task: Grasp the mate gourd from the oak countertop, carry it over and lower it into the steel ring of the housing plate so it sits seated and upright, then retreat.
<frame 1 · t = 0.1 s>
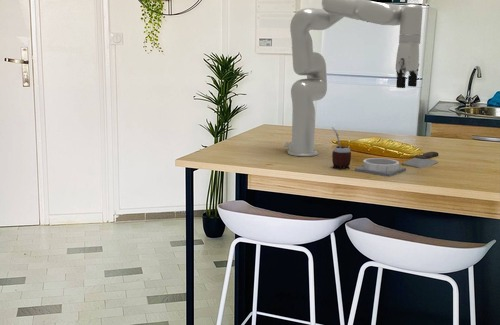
hand: (406, 87, 221), 31 cm above the table, tool pointing down, fingers open, 9 cm apart
housing: (380, 170, 225), on the table
cleaver: (424, 162, 244), on the table
mate gourd: (339, 168, 229), on the table
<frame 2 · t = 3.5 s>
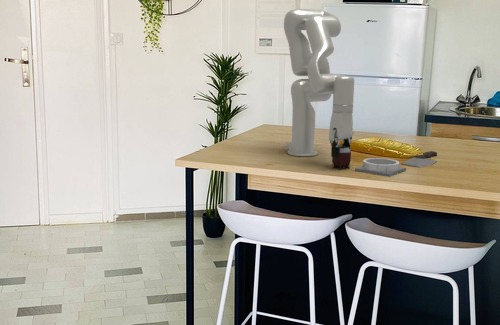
hand: (340, 155, 228), 5 cm above the table, tool pointing down, fingers closed on mate gourd, 7 cm apart
mate gourd: (339, 168, 229), on the table, touching gripper
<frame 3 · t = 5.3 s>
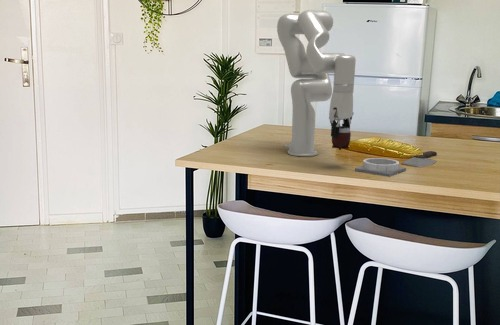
hand: (340, 135, 227), 12 cm above the table, tool pointing down, fingers closed on mate gourd, 7 cm apart
mate gourd: (339, 148, 228), point 7 cm above the table, touching gripper
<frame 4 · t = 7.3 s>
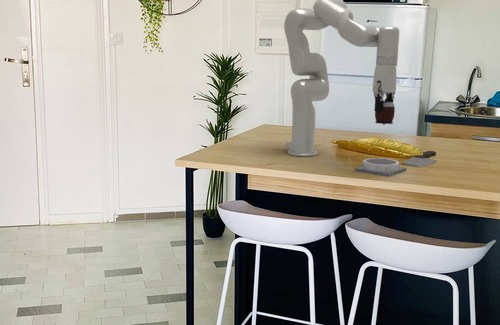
hand: (383, 110, 220), 23 cm above the table, tool pointing down, fingers closed on mate gourd, 7 cm apart
mate gourd: (382, 123, 221), point 18 cm above the table, touching gripper
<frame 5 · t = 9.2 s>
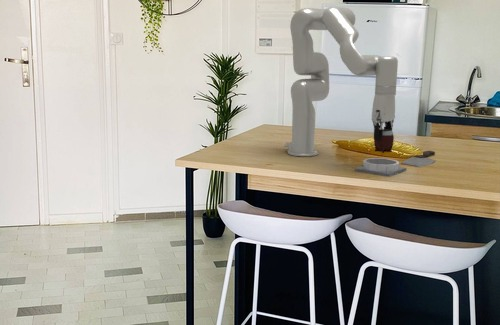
hand: (382, 138, 222), 12 cm above the table, tool pointing down, fingers closed on mate gourd, 7 cm apart
mate gourd: (381, 151, 223), point 7 cm above the table, touching gripper
when the fingers open (7 cm above the table, at t = 10.8 s): mate gourd drops 1 cm, resting on housing.
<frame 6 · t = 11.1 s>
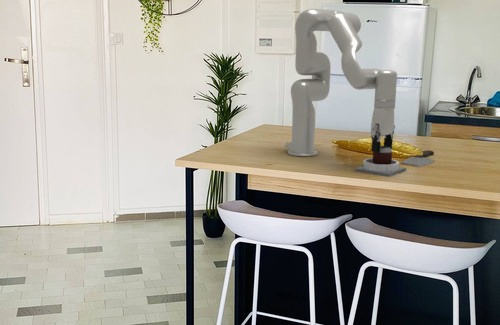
hand: (381, 150, 223), 8 cm above the table, tool pointing down, fingers open, 9 cm apart
mate gourd: (380, 168, 225), point 1 cm above the table, touching housing
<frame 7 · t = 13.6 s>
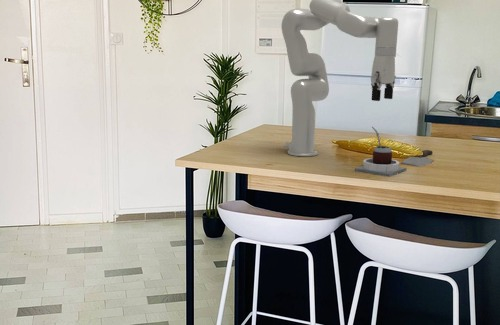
hand: (382, 99, 221), 26 cm above the table, tool pointing down, fingers open, 9 cm apart
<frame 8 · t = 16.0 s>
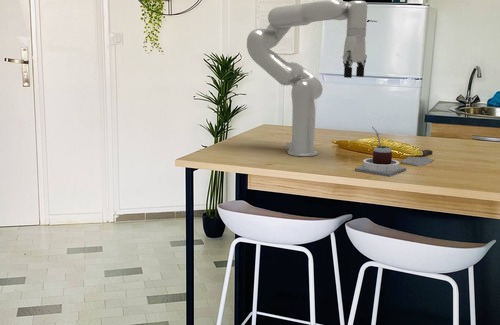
hand: (353, 77, 240), 33 cm above the table, tool pointing down, fingers open, 9 cm apart
at the end: mate gourd 0.1 cm off-centre on the housing, point 0.8 cm above the housing's base; mate gourd tilted 0°; the gripper is holding nothing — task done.
